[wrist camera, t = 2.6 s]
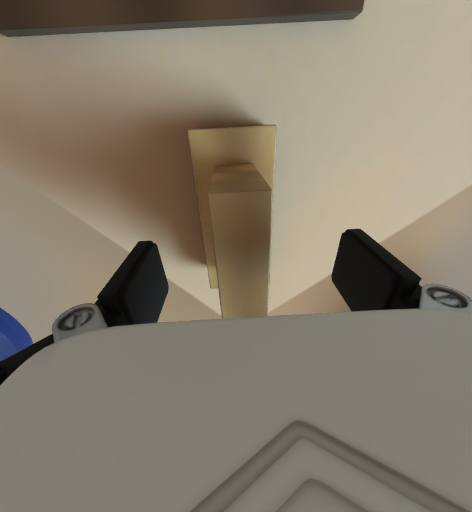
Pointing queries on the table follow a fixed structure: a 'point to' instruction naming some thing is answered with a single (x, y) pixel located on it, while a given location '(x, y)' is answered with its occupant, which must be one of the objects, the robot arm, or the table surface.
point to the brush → (236, 212)
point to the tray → (160, 14)
